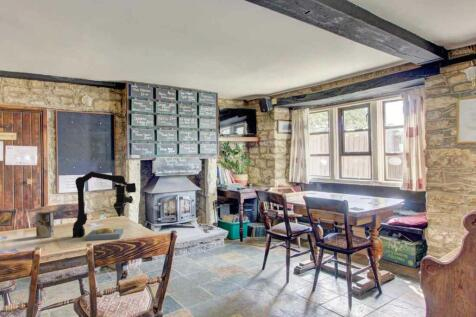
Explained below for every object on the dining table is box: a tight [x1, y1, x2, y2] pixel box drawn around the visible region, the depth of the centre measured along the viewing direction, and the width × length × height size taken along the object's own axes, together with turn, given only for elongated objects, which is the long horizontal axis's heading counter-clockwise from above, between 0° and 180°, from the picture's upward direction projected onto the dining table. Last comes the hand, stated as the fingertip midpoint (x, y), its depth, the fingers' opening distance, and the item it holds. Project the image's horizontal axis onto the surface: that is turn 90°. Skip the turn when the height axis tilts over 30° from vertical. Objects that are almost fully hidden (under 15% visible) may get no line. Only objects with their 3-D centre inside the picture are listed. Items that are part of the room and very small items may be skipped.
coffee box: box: [35, 211, 55, 239], centre depth 215 cm, size 9×6×16 cm
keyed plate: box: [86, 228, 124, 241], centre depth 214 cm, size 20×16×3 cm
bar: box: [97, 227, 115, 234], centre depth 214 cm, size 9×4×4 cm, turn 96°
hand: (120, 215), depth 225 cm, fingers open, 9 cm apart
